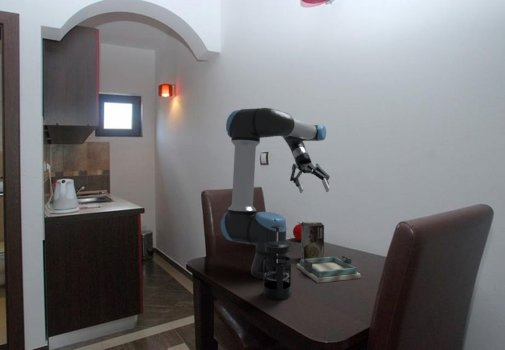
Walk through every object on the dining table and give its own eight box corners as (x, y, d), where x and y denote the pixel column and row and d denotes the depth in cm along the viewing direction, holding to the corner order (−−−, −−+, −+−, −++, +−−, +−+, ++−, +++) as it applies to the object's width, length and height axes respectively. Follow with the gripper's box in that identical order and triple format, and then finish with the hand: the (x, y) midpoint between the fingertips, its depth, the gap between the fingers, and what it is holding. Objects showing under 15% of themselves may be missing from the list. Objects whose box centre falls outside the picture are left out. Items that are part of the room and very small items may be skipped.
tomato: (305, 244, 181) (305, 225, 181) (288, 240, 188) (289, 222, 188) (316, 240, 189) (316, 222, 188) (300, 237, 196) (300, 219, 196)
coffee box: (320, 257, 158) (321, 222, 157) (324, 261, 151) (324, 225, 150) (300, 257, 158) (301, 222, 157) (303, 262, 151) (303, 225, 150)
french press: (260, 288, 121) (261, 222, 119) (287, 287, 122) (288, 222, 120) (265, 303, 109) (265, 230, 108) (294, 302, 110) (295, 229, 109)
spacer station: (317, 282, 126) (317, 268, 126) (296, 267, 144) (297, 254, 143) (360, 278, 132) (361, 263, 131) (335, 263, 149) (335, 251, 149)
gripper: (321, 163, 183) (335, 195, 170) (277, 163, 176) (288, 196, 163) (326, 153, 178) (341, 185, 165) (280, 152, 171) (292, 186, 157)
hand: (315, 190), depth 164 cm, fingers open, 13 cm apart
